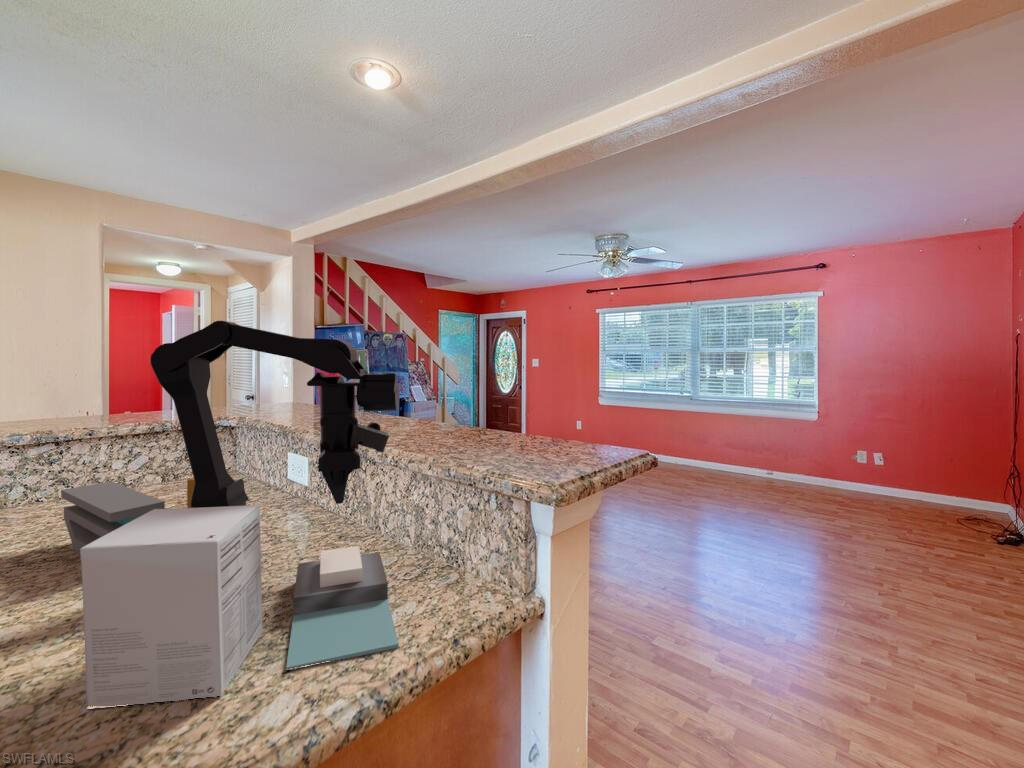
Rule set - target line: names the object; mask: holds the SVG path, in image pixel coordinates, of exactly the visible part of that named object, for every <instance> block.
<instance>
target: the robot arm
mask: <svg viewBox="0 0 1024 768" xmlns="http://www.w3.org/2000/svg"><path fill="white" fill-rule="evenodd" d="M233 347H235V348H241V349H245V350H250V351H255V352H256V351H257V352H261V353H265V354H271V355H276V356H279V357H286V358H290V359H294V360H296V361H299V362H302V363H304V364H305V365H307V366H310V367H312V368H314V369H316V370H320V371H318V372H316V373H315V374H314V376H313V377H312V378H311V379H309V380H308V381H307V382H306V385H307V386H308V387H319V395H320V396H319V399H320V400H319V404H320V411H319V412H320V413H319V414H320V415H319V417H320V421H319V424H320V425H319V426H320V442H319V453H320V454H319V455H318V459H317V460H318V472H319V473H321V474H322V476H323V479H324V481H325V483H326V485H327V487H328V489H329V491H330V493H331V496H332V498H333V500H334V502H335V505H338V504H343V503H344V498H345V496H346V495H345V493H346V488H347V484H348V480H349V476H350V474H351V473H353V471H354V470H359V469H360V468H361V456H360V453H359V452H358V450H356V449H359V446H361V447H365V448H370V449H372V450H375V451H376V452H379V453H384V452H385V449H386V447H387V443H388V440H389V438H390V435H389V433H388V432H385V431H384V430H381V426H380V423H378V422H374V421H371V422H369V423H368V424H367V425H364V424H363V425H362V424H359V420H358V418H357V417H356V403H357V405H358V407H360V408H363V411H364V412H398V411H399V406H400V390H399V386H398V385H399V384H398V378H397V377H398V375H397V373H396V372H387V373H368V371H367V370H366V368H365V367H364V366H363V365H362V364H361V362H360V361H359V360H358V353H357V349H356V348H355V346H354V345H353V344H352V343H350V342H348V341H346V340H340V339H335V338H333V339H332V338H315V337H314V338H311V337H310V338H307V337H305V338H304V337H303V338H302V337H296V336H293V335H289V334H288V335H287V334H281V333H279V332H278V333H277V332H274V331H268V330H264V329H258V328H254V327H249V326H245V325H240V324H238V323H235V322H232V321H226V320H216V321H213V322H211V323H210V324H208V325H206V326H205V327H202V328H200V329H199V330H197V331H194V332H192V333H190V334H187V335H185V336H183V337H180V338H179V339H176V340H175V341H174V342H166V343H163V344H160V345H158V347H156V348H155V349H154V351H153V352H152V353H151V355H150V358H149V360H150V362H149V363H150V366H151V369H152V371H153V373H154V375H155V377H156V380H157V381H158V383H159V385H160V386H161V387H162V388H163V389H164V390H165V392H166V393H167V394H168V395H169V396H170V398H172V400H173V403H174V407H175V412H176V414H177V419H178V423H179V425H180V430H181V433H182V438H183V441H184V446H185V449H186V453H187V457H188V460H189V463H190V467H191V472H192V476H193V478H194V481H195V484H194V489H193V494H192V498H191V508H203V507H225V506H247V501H250V497H248V495H247V493H246V490H245V482H244V480H243V478H240V479H237V480H234V479H233V478H232V476H230V473H228V471H227V466H226V463H225V460H224V455H223V451H222V448H221V444H220V440H219V436H218V433H217V432H218V431H217V428H216V425H215V420H214V416H213V412H212V410H211V409H212V408H211V405H210V400H209V397H208V389H209V384H210V381H211V363H213V362H214V361H216V360H218V359H219V358H221V357H222V356H223V355H224V354H226V352H227V351H228V350H229V349H230V348H233ZM322 371H323V372H326V373H328V374H338V376H331V375H330V376H328V375H327V376H326V375H325V374H324V373H323V372H322ZM339 375H340V376H339ZM343 377H344V378H345V379H346V380H359V381H357V382H356V381H355V382H353V381H352V382H351V381H349V382H348V381H345V380H344V378H343Z"/></svg>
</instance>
